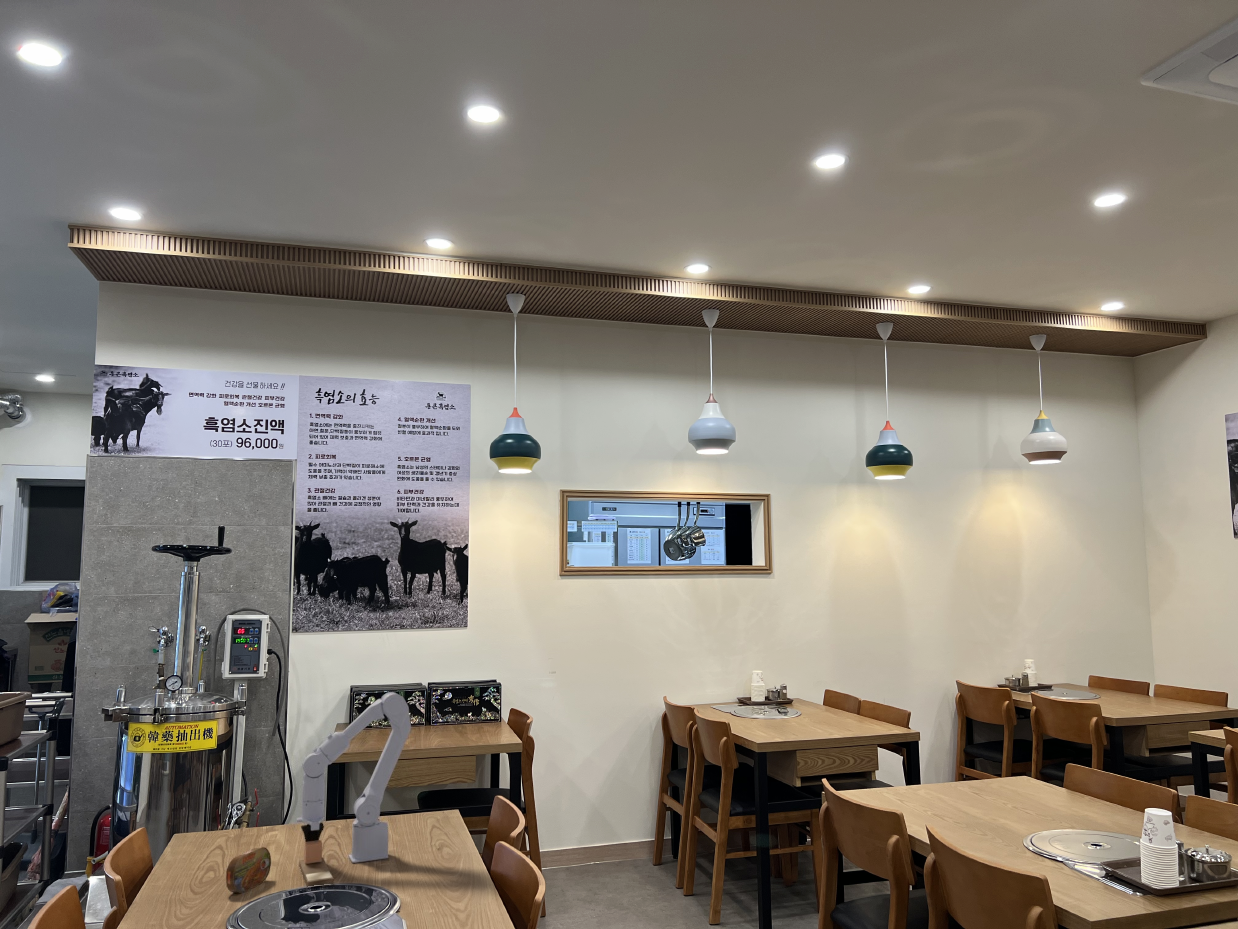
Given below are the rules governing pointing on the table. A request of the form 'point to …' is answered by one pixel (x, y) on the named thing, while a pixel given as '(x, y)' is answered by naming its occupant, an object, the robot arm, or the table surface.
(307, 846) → the slider
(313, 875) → the track
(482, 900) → the table surface
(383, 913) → the table surface
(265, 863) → the tin
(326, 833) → the table surface
